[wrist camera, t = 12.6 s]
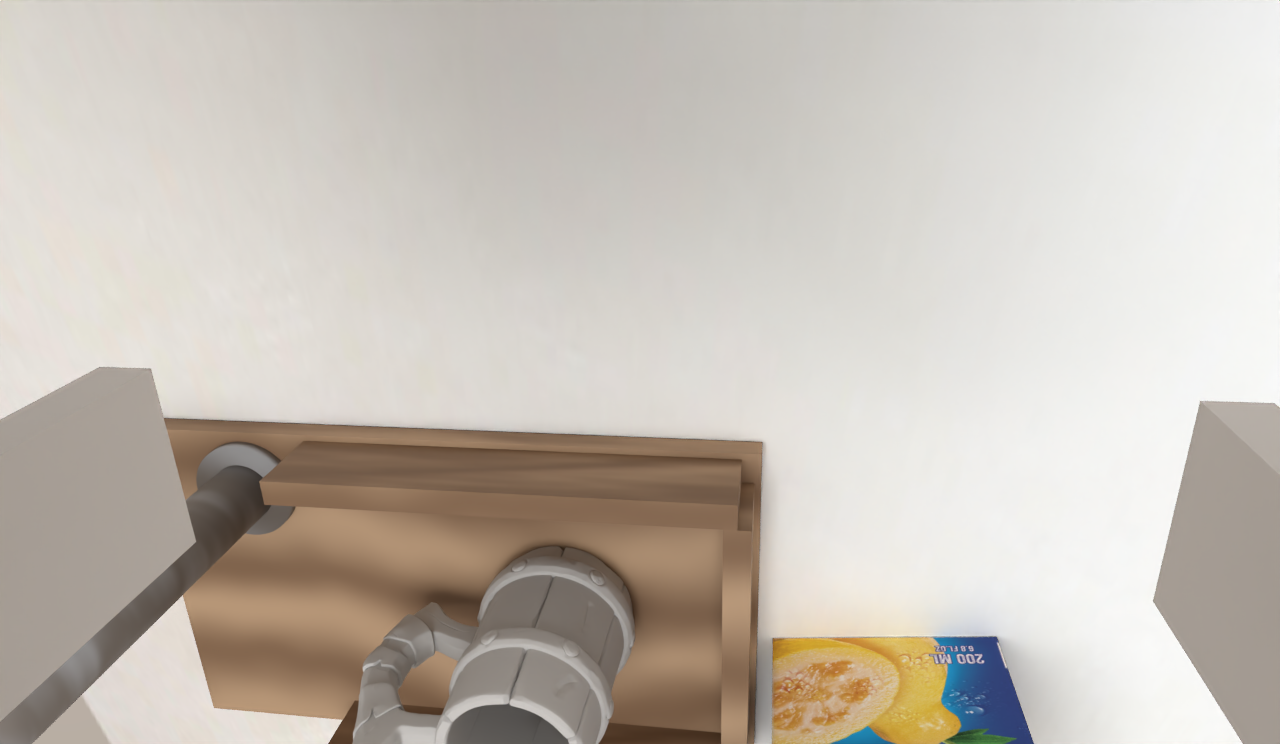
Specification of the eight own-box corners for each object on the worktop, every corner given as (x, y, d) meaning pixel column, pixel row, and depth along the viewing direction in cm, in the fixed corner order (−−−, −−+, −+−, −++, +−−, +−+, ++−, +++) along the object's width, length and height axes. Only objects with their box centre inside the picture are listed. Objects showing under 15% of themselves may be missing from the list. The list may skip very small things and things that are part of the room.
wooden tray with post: (152, 418, 45) (-186, 639, 29) (762, 442, 40) (751, 719, 25) (226, 692, 52) (-16, 992, 36) (754, 739, 47) (742, 1105, 31)
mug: (641, 671, 45) (597, 884, 34) (422, 651, 47) (312, 849, 36) (638, 545, 42) (589, 734, 31) (404, 529, 44) (280, 703, 33)
